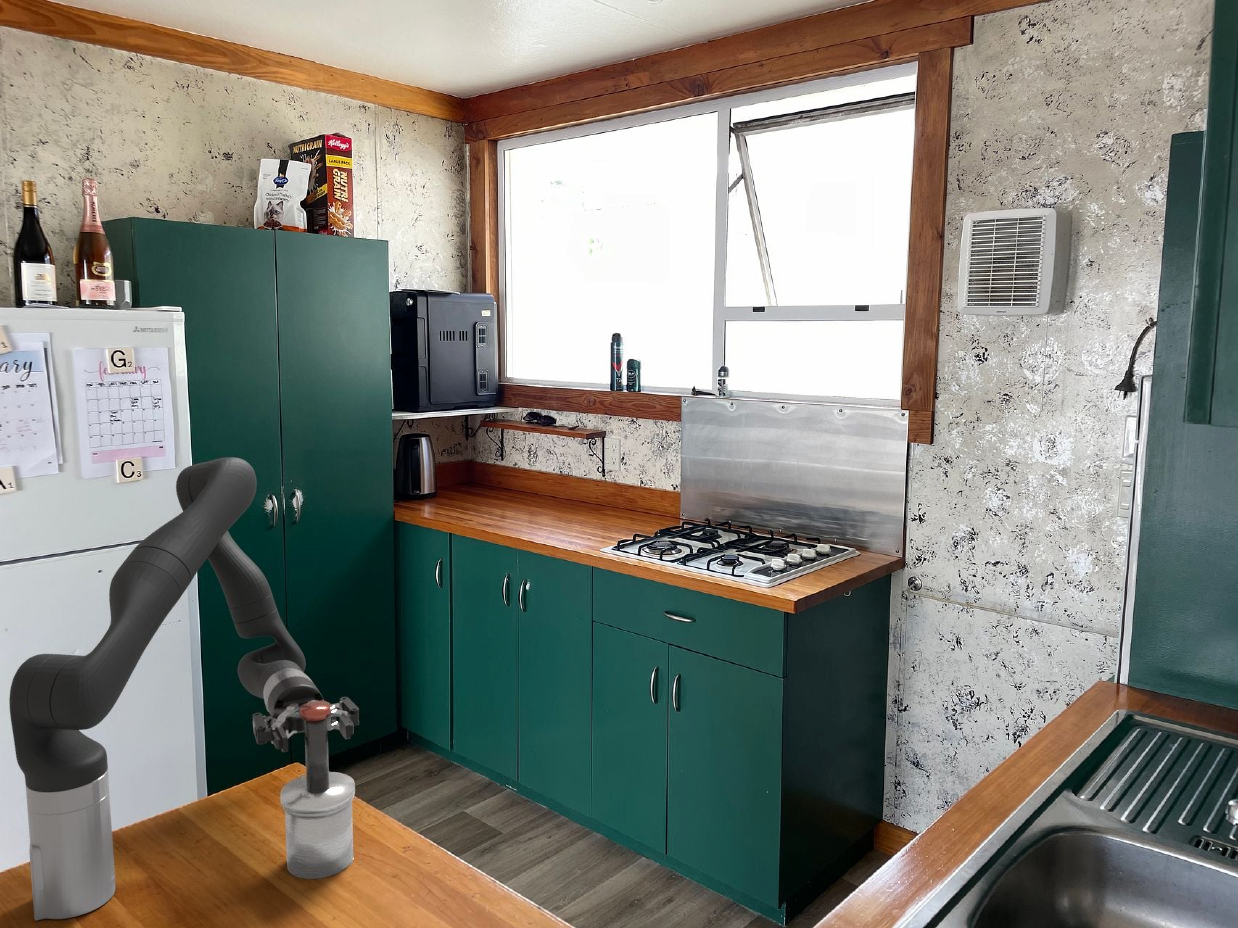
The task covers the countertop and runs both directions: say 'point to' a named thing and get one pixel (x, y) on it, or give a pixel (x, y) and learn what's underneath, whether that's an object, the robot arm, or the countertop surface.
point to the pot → (319, 842)
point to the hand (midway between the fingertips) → (317, 738)
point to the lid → (317, 769)
